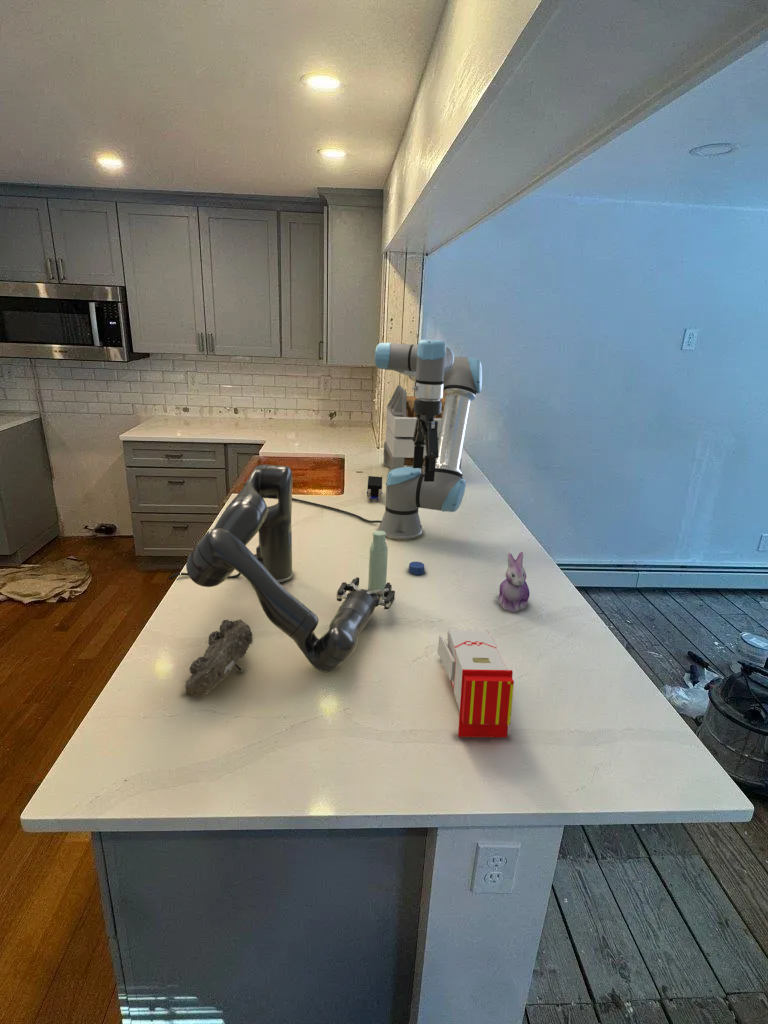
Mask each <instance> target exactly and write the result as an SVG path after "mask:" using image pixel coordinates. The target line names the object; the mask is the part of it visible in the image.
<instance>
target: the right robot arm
mask: <svg viewBox="0 0 768 1024" xmlns="http://www.w3.org/2000/svg"><path fill="white" fill-rule="evenodd" d="M374 364H375V367H376V368H377V369H379V370H385V371H393V372H397V373H399V374H401V375H404V376H407V377H408V378H409V379H410V381H412V382H414V383H415V386H414V385H413V387H412V388H413V390H414V396H415V397H416V398H417V399H415V400H414V412H415V413H416V414H417V420H416V426H415V431H414V436H413V442H414V445H416V446H414V460H413V466H404V467H402V468H396V469H393V470H391V471H390V470H389V472H388V473H387V475H386V482H385V504H384V505H385V507H384V508H385V509H384V513H383V515H382V519H381V520H379V519H378V520H377V519H376V520H370V519H367V518H364V517H362V516H360V515H358V514H355V513H352V512H349V511H346V510H343V509H341V508H336V507H333V506H329V505H324V504H320V503H318V502H317V503H316V502H312V501H308V500H303V499H300V498H294V497H292V501H293V502H299V503H304V504H308V505H313V506H317V507H321V508H324V509H327V510H332V511H336V512H339V513H343V514H346V515H350V516H352V517H355V518H356V519H357V518H358V519H360V520H361V521H363V522H366V523H368V524H369V523H370V524H379V526H378V531H384V532H385V533H386V537H385V538H386V539H389V540H395V541H410V540H415V539H418V538H420V537H421V536H422V535H423V525H422V524H421V518H420V515H419V509H425V510H433V511H439V512H440V511H441V512H442V513H444V512H447V513H449V512H450V513H455V512H457V511H458V510H459V508H460V506H461V505H462V502H463V499H464V496H465V491H466V486H467V481H466V479H464V478H463V476H464V475H463V472H462V470H461V471H460V469H459V466H460V460H461V458H462V453H463V447H464V441H465V436H466V429H467V423H468V419H469V418H468V417H469V410H470V406H471V405H470V404H471V402H473V401H474V400H475V399H476V397H477V394H481V392H482V389H483V368H482V361H481V360H480V359H479V358H475V357H469V356H467V357H466V356H455V355H454V352H453V351H452V349H451V348H450V347H448V346H447V343H446V341H445V340H441V339H421V340H419V341H418V343H417V344H411V343H410V344H409V343H397V342H396V343H395V342H390V341H388V342H379V343H378V344H377V345H376V347H375V350H374ZM443 396H444V397H445V405H444V411H443V417H442V422H441V428H440V434H439V440H438V434H437V426H438V422H437V421H434V416H435V415H439V414H441V408H442V402H441V400H440V399H442V398H443ZM424 440H425V442H424ZM421 445H425V446H426V455H427V456H425V457H424V459H425V466H423V454H424V446H421ZM431 453H433V454H431ZM423 467H424V468H423ZM422 469H424V472H423V473H422ZM245 484H246V482H245V483H243V486H244V485H245Z"/></svg>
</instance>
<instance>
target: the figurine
mask: <svg viewBox="0 0 768 1024" xmlns="http://www.w3.org/2000/svg"><path fill="white" fill-rule="evenodd" d="M506 556H507V569H506V571H505V579H504V580H502V581H501V583H500V585H499V591H498V592H499V593H498V597H497V598H498V600H497V601H498V604H499V605H500V606H501V607H502V609H503V610H505V611H507V612H508V611H509V612H518V611H520V610H521V611H522V610H524V609H525V608H526V607H527V605H528V601H529V599H530V588H529V585H528V584H527V581H526V580H527V571H526V570H525V567H524V552H523V551H520V552H519V553H518V555H517V557H516V559H515V557H514V556H513V554H512V553H511V552H508V553H507V555H506Z"/></svg>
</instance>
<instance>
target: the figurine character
mask: <svg viewBox="0 0 768 1024" xmlns="http://www.w3.org/2000/svg"><path fill="white" fill-rule="evenodd" d="M367 477H368V478H367V489H366V497H367V498H369V501H370V502H372V501H373V500H376V502H379V501H380V499H381V498H382V494H383V476H373V475H368V476H367ZM379 498H380V499H379Z"/></svg>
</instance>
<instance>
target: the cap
mask: <svg viewBox="0 0 768 1024" xmlns="http://www.w3.org/2000/svg"><path fill="white" fill-rule="evenodd" d="M408 573H409V574H411V575H414V576H421V575H424V573H425V563H423V562H421V561H411V562H409V564H408Z"/></svg>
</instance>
